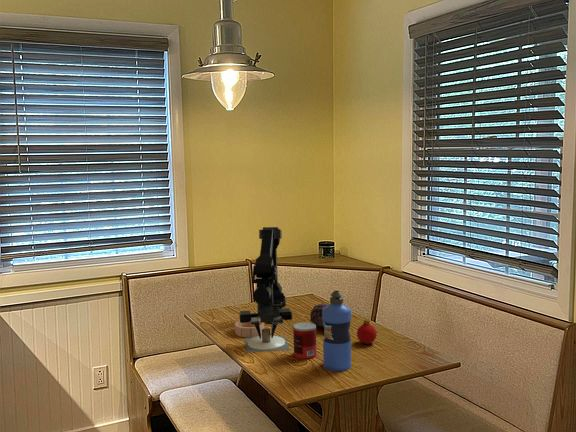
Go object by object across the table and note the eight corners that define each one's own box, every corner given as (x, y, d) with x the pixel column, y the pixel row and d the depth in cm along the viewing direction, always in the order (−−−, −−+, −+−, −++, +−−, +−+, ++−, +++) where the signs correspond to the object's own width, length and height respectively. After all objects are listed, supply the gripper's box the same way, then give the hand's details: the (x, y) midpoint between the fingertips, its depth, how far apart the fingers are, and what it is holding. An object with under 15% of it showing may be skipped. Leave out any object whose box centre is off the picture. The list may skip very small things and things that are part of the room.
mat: (284, 336, 223) (284, 335, 223) (289, 350, 208) (289, 349, 208) (244, 339, 221) (244, 338, 221) (247, 353, 206) (247, 352, 206)
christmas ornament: (371, 338, 218) (371, 312, 217) (380, 345, 212) (380, 318, 210) (353, 341, 216) (353, 314, 215) (362, 347, 210) (361, 320, 208)
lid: (282, 336, 222) (282, 322, 221) (287, 349, 208) (287, 334, 208) (246, 338, 220) (245, 325, 219) (249, 351, 207) (248, 337, 206)
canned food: (319, 353, 205) (318, 323, 203) (312, 362, 197) (312, 330, 196) (298, 351, 207) (297, 321, 206) (290, 359, 200) (290, 328, 198)
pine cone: (344, 334, 224) (344, 308, 223) (320, 337, 221) (320, 311, 220) (327, 320, 241) (327, 297, 240) (304, 323, 238) (304, 299, 237)
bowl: (263, 327, 234) (262, 318, 233) (265, 337, 222) (265, 327, 222) (234, 329, 232) (234, 319, 232) (236, 339, 221) (235, 329, 220)
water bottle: (331, 373, 187) (330, 296, 184) (318, 363, 196) (317, 289, 193) (356, 368, 191) (356, 292, 188) (342, 358, 199) (342, 286, 196)
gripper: (240, 304, 203) (241, 347, 205) (293, 300, 205) (294, 344, 207) (238, 295, 214) (240, 337, 216) (289, 292, 216) (290, 333, 218)
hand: (266, 338), depth 214 cm, fingers open, 4 cm apart
